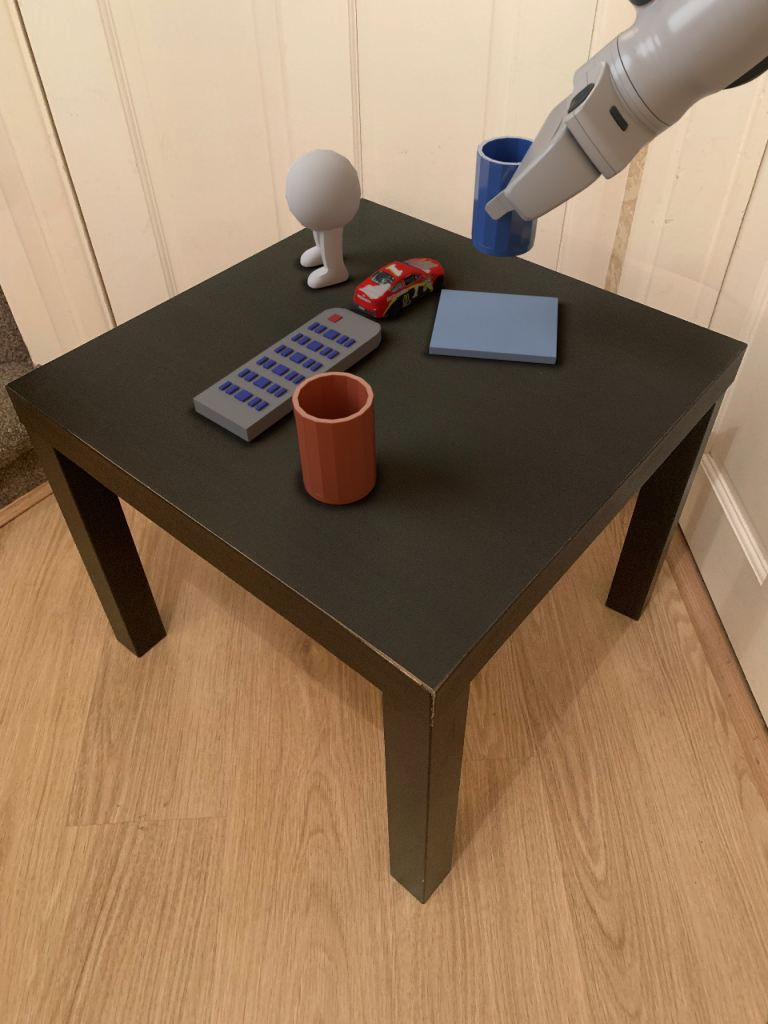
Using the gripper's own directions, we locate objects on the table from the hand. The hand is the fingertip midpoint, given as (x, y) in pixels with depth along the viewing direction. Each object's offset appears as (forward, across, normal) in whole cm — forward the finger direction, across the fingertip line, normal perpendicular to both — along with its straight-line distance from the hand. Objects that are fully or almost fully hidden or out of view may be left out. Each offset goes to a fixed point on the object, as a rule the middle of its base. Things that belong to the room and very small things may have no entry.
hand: (501, 193), depth 80 cm
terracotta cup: (+17, +28, +7) cm, 33 cm away
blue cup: (+3, 0, +4) cm, 5 cm away
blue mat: (+11, -1, +12) cm, 17 cm away
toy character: (+28, -6, -4) cm, 29 cm away
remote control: (+24, +15, -1) cm, 29 cm away
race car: (+20, -4, +3) cm, 21 cm away
